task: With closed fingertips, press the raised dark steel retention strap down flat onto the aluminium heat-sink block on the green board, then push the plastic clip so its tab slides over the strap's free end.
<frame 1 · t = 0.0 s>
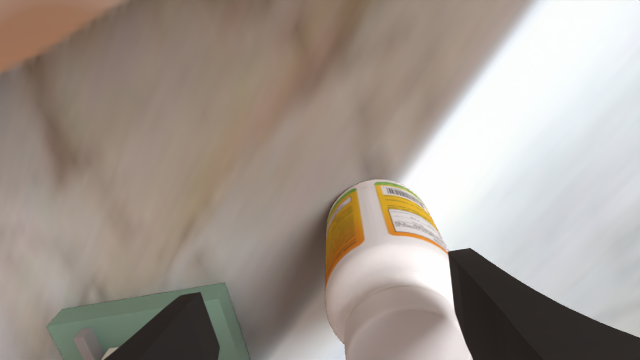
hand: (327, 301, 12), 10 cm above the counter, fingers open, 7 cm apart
supplement bottle: (376, 222, 22), on the counter
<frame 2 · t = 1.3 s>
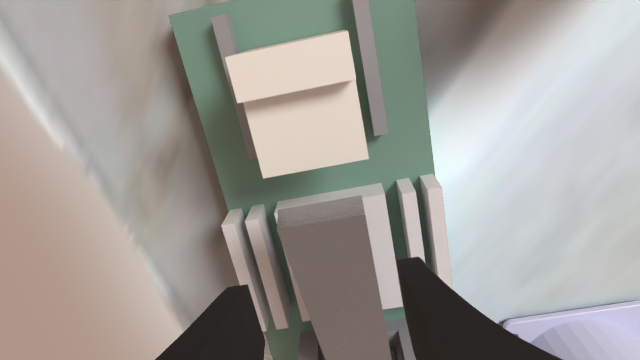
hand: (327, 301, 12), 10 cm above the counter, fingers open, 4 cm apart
clip: (304, 102, 16), point 4 cm above the counter, slide at 0.0 cm
heatsink board: (332, 199, 22), on the counter
strap: (347, 312, 18), point 5 cm above the counter, hinge at 18.0°
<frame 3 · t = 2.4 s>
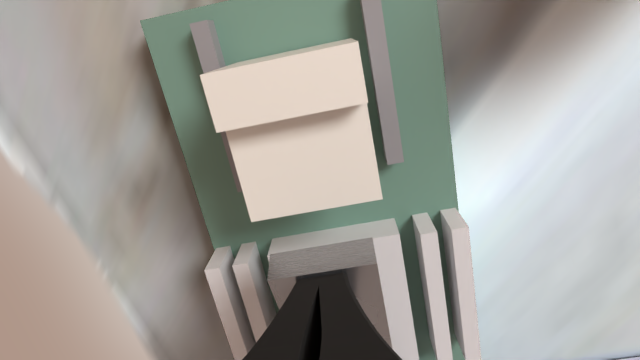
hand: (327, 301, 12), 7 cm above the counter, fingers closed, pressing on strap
clip: (303, 127, 13), point 4 cm above the counter, slide at 0.0 cm
heatsink board: (336, 233, 19), on the counter
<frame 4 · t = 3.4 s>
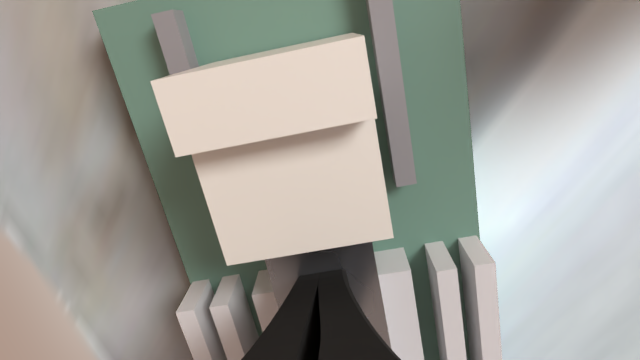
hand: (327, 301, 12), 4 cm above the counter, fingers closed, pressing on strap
clip: (292, 144, 10), point 4 cm above the counter, slide at 0.0 cm
heatsink board: (335, 261, 16), on the counter
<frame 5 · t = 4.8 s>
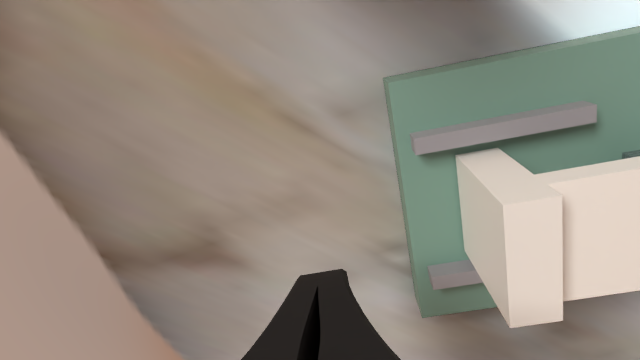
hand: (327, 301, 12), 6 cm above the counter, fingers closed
clip: (550, 221, 13), point 4 cm above the counter, slide at 0.0 cm
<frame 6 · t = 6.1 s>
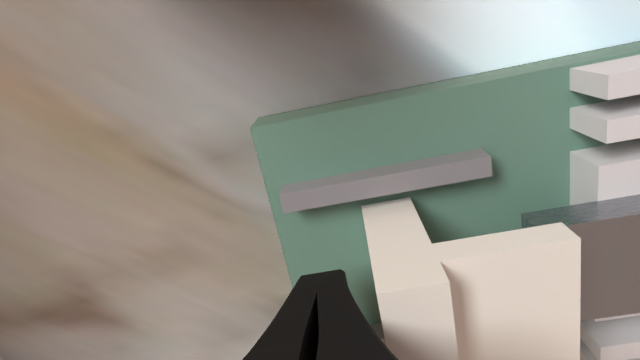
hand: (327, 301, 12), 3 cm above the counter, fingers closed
clip: (462, 292, 11), point 4 cm above the counter, slide at 0.8 cm, touching gripper
heatsink board: (576, 202, 14), on the counter
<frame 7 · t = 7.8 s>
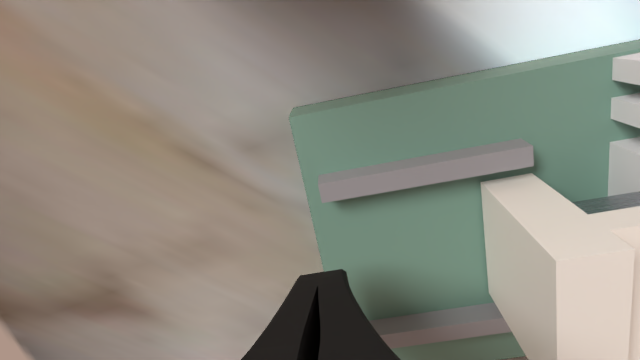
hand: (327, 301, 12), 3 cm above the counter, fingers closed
clip: (602, 267, 11), point 4 cm above the counter, slide at 3.2 cm
heatsink board: (610, 194, 14), on the counter
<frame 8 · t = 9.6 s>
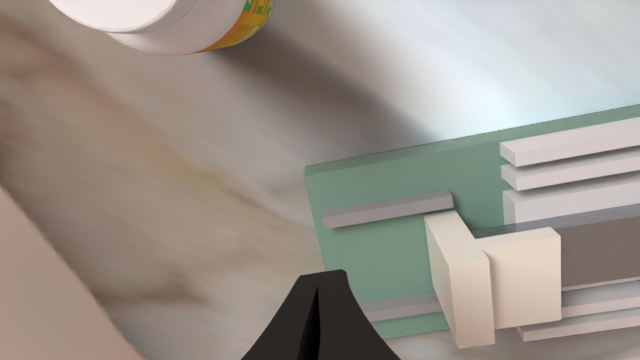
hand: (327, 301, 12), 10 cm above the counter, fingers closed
clip: (491, 269, 18), point 4 cm above the counter, slide at 3.2 cm
heatsink board: (513, 221, 22), on the counter
strap: (614, 243, 18), point 3 cm above the counter, hinge at -0.8°, touching heatsink board
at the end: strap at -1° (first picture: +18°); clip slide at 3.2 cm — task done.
